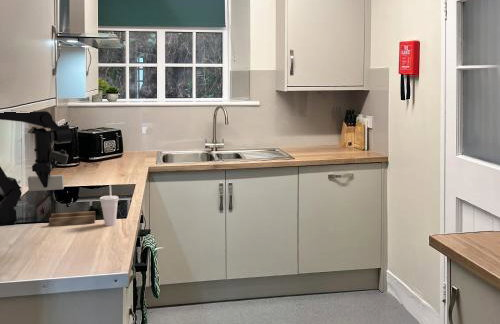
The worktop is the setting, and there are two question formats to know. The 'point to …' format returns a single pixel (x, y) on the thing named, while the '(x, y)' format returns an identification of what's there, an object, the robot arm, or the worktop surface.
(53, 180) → the clay strip
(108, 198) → the smoothie
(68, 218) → the wooden block
